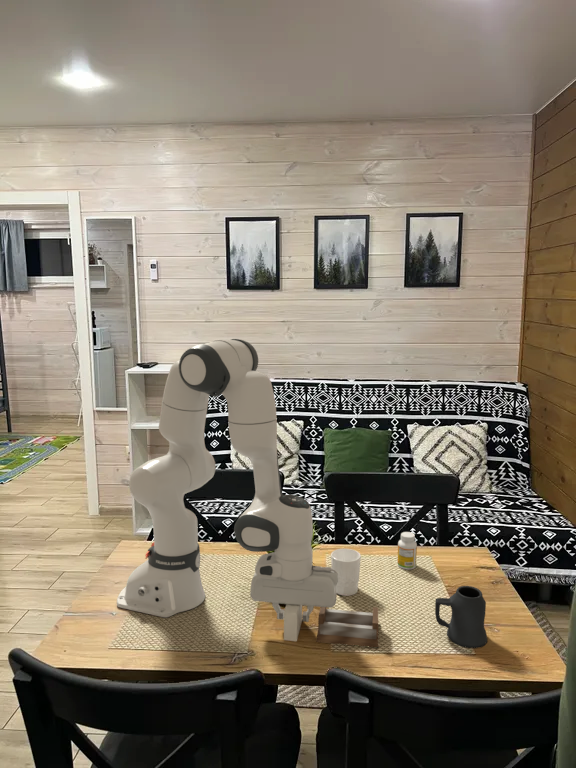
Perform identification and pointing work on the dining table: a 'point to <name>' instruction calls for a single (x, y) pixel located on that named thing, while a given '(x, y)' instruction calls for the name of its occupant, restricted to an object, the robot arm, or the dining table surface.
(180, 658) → the dining table surface
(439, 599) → the mug
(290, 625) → the white block with hole
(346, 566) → the white cup
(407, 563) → the supplement bottle
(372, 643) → the brown wooden rack
